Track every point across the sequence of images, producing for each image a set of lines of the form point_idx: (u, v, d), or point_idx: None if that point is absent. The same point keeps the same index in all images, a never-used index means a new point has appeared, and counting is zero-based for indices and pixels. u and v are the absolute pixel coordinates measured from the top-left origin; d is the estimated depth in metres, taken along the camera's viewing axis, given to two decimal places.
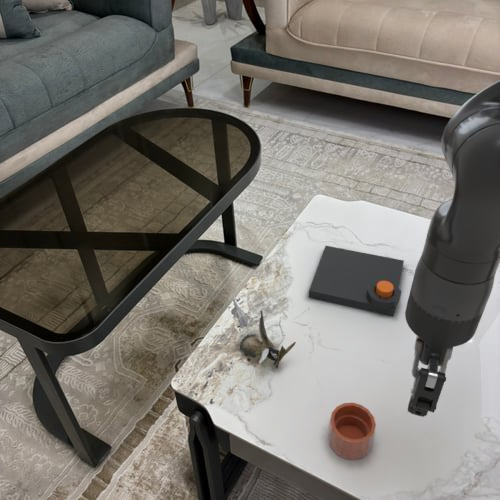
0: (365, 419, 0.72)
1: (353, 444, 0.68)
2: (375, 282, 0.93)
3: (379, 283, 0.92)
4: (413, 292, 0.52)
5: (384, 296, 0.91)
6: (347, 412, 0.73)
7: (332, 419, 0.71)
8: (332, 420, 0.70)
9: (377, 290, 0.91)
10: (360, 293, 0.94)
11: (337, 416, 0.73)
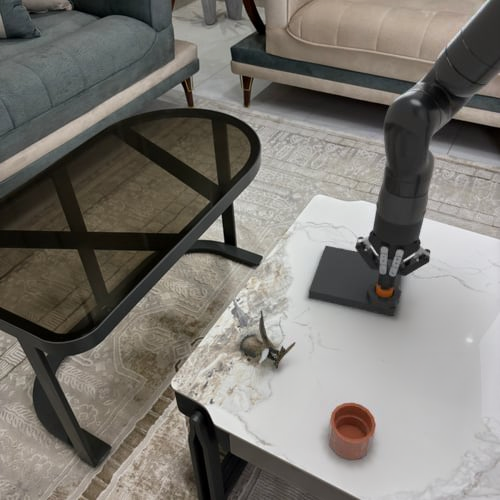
0: (365, 419, 0.72)
1: (353, 444, 0.68)
2: (375, 282, 0.93)
3: None
4: (407, 222, 0.77)
5: (384, 296, 0.91)
6: (347, 412, 0.73)
7: (332, 419, 0.71)
8: (332, 420, 0.70)
9: (377, 290, 0.91)
10: (360, 293, 0.94)
11: (337, 416, 0.73)
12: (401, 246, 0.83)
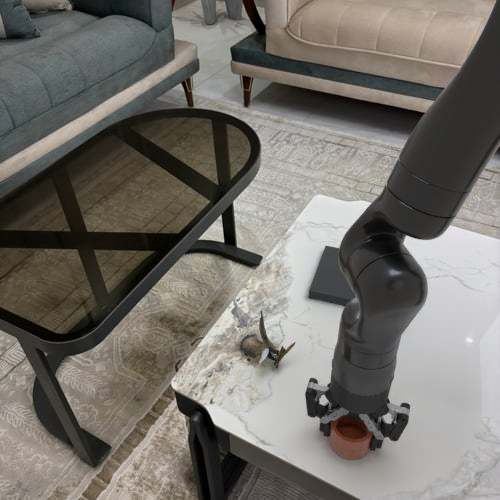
0: None
1: (353, 444, 0.68)
2: None
3: None
4: (369, 393, 0.59)
5: None
6: None
7: None
8: (332, 420, 0.70)
9: None
10: None
11: None
12: None
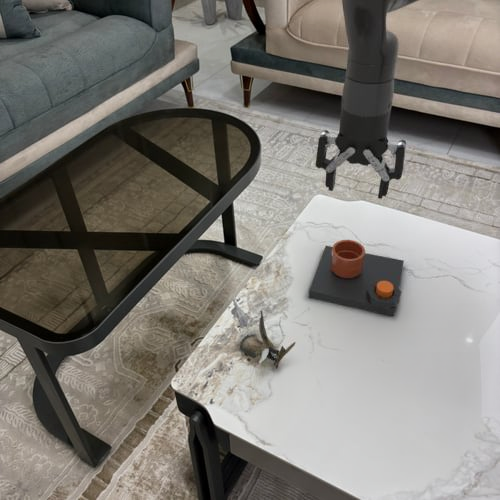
0: (358, 251, 0.98)
1: (348, 262, 0.94)
2: (375, 282, 0.93)
3: (379, 283, 0.92)
4: (371, 113, 0.74)
5: (384, 296, 0.91)
6: (344, 248, 0.99)
7: (333, 248, 0.96)
8: (333, 249, 0.96)
9: (377, 290, 0.91)
10: (360, 293, 0.94)
11: (337, 250, 0.98)
12: (368, 146, 0.80)
